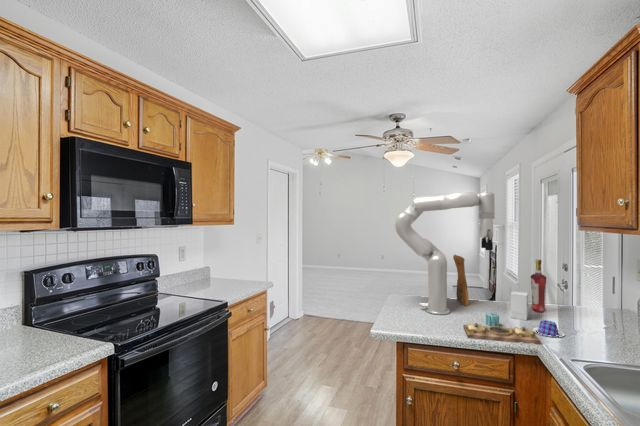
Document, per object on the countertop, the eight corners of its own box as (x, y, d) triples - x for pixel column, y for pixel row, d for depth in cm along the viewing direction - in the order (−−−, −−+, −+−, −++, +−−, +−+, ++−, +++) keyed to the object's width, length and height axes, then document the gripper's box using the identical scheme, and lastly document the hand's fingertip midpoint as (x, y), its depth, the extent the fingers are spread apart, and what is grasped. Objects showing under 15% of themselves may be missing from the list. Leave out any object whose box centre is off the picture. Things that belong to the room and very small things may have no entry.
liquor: (527, 309, 190) (527, 258, 189) (541, 309, 189) (541, 258, 189) (535, 313, 182) (535, 260, 182) (549, 313, 182) (549, 260, 182)
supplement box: (526, 320, 171) (527, 295, 170) (510, 317, 175) (510, 293, 175) (528, 316, 177) (528, 292, 176) (512, 314, 181) (512, 290, 181)
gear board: (467, 338, 148) (467, 327, 148) (463, 327, 161) (463, 318, 161) (540, 344, 141) (540, 333, 141) (530, 333, 154) (530, 323, 154)
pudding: (570, 335, 152) (570, 323, 152) (555, 340, 146) (555, 328, 146) (541, 327, 162) (541, 316, 162) (527, 331, 156) (527, 320, 156)
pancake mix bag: (458, 306, 195) (458, 257, 195) (452, 298, 214) (452, 253, 213) (470, 307, 194) (471, 258, 193) (464, 298, 212) (464, 253, 212)
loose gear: (487, 326, 163) (487, 315, 163) (484, 322, 168) (484, 312, 168) (500, 327, 161) (500, 316, 161) (497, 323, 167) (497, 313, 166)
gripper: (475, 215, 187) (475, 247, 187) (482, 216, 170) (482, 251, 170) (490, 215, 185) (490, 247, 185) (499, 216, 168) (499, 251, 168)
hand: (486, 249), depth 178 cm, fingers open, 9 cm apart
